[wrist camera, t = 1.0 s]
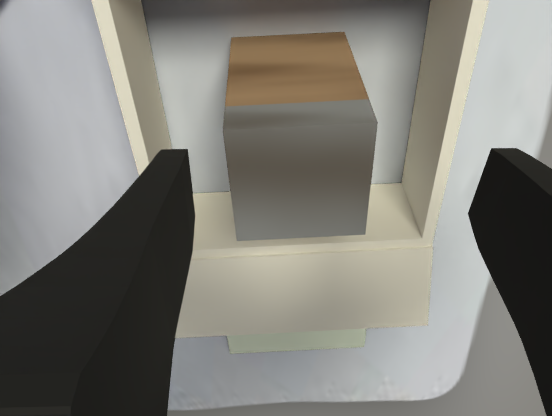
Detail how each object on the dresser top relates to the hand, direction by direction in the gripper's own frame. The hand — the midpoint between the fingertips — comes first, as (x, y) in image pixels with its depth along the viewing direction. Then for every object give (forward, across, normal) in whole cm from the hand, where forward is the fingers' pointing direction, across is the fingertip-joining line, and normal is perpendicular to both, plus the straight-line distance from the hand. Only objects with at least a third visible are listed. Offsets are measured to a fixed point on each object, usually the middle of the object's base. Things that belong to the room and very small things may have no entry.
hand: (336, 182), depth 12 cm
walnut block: (+10, 0, +2) cm, 10 cm away
